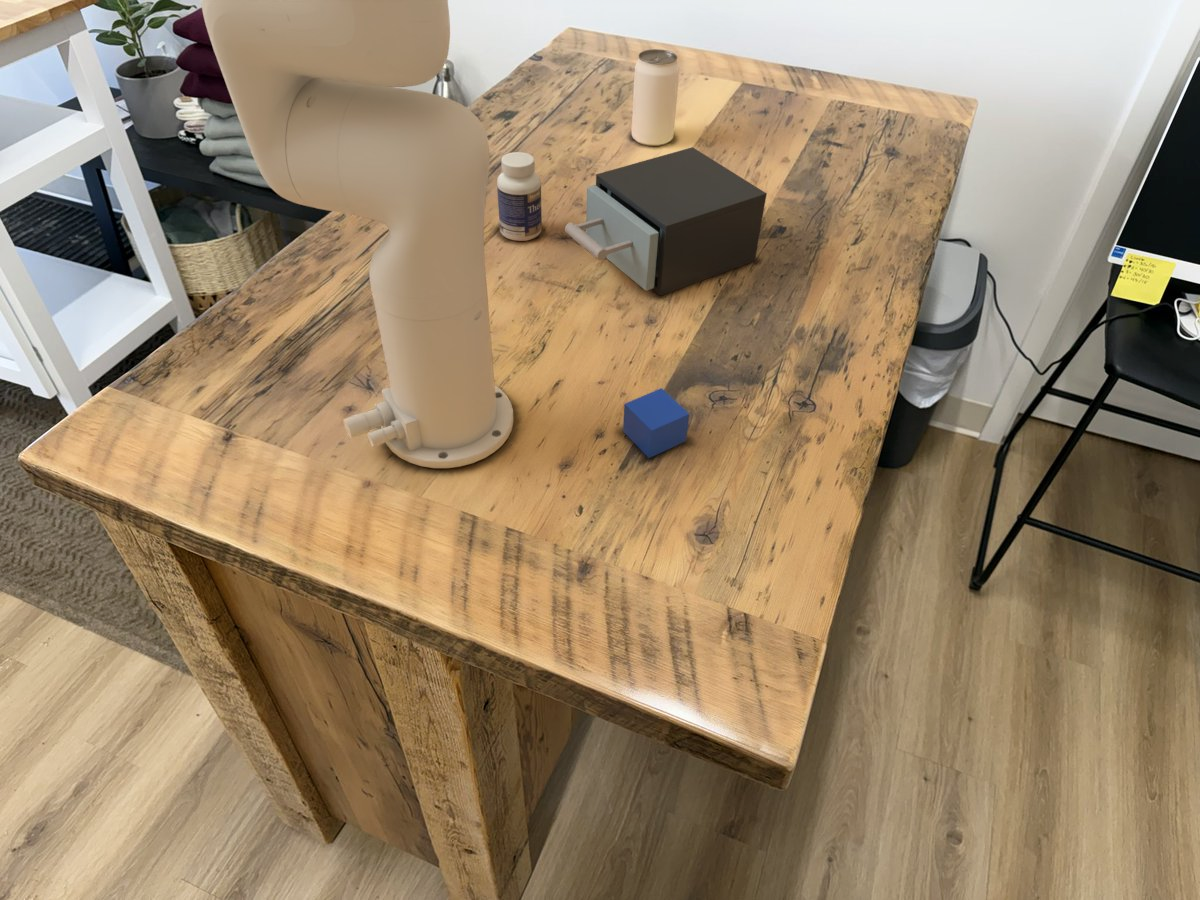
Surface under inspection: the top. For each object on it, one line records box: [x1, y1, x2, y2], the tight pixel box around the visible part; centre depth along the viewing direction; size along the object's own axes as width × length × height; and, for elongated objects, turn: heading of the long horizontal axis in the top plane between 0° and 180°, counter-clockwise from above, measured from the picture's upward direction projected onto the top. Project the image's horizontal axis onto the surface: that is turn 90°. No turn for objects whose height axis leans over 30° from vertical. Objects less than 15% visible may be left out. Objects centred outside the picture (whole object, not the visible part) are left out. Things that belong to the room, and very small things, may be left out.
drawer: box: [564, 184, 662, 292], centre depth 100 cm, size 18×13×7 cm
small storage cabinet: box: [595, 147, 767, 297], centre depth 102 cm, size 15×14×9 cm
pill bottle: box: [496, 151, 543, 242], centre depth 104 cm, size 5×5×10 cm
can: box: [631, 48, 680, 147], centre depth 124 cm, size 6×6×12 cm
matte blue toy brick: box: [622, 388, 690, 459], centre depth 80 cm, size 4×4×4 cm
